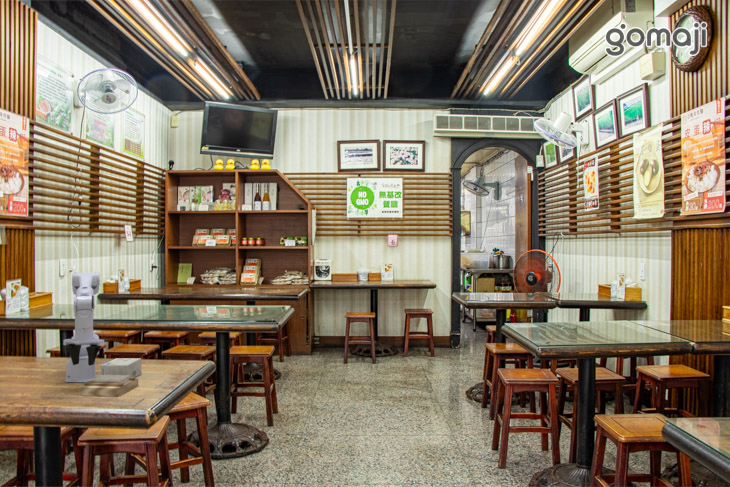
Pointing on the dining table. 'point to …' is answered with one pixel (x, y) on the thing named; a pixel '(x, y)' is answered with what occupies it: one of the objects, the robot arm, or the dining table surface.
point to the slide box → (108, 388)
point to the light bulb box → (122, 367)
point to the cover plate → (110, 379)
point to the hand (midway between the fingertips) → (83, 364)
